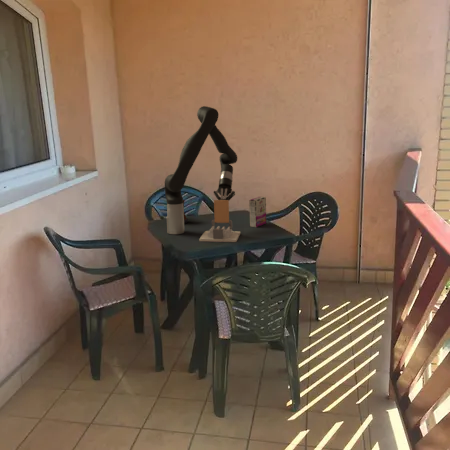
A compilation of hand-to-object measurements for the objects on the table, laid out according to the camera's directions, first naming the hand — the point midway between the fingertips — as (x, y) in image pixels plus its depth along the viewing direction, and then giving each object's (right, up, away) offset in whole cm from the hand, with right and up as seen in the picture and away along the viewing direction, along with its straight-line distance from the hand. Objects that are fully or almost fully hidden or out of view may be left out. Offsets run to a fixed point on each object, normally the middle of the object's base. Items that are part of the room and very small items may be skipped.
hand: (222, 206), depth 278 cm
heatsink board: (-1, -17, -6) cm, 19 cm away
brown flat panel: (-1, -9, -2) cm, 9 cm away
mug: (-28, -9, +32) cm, 43 cm away
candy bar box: (+21, -11, +18) cm, 29 cm away
